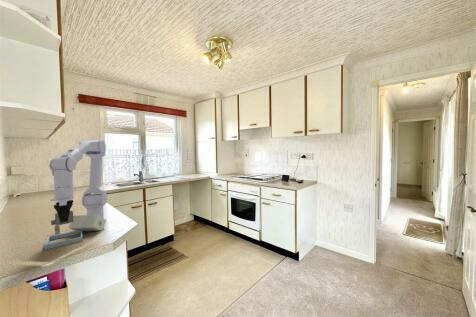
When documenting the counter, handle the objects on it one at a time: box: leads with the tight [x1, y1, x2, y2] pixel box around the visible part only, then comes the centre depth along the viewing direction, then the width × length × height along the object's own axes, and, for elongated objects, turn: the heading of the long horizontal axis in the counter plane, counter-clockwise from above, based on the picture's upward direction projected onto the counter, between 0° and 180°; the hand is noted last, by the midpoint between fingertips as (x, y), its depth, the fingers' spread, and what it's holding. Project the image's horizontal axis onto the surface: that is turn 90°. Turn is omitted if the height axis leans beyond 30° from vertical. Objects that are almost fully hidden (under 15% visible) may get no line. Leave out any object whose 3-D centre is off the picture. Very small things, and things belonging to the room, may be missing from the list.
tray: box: [43, 230, 84, 250], centre depth 79 cm, size 11×11×2 cm
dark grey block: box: [50, 210, 74, 226], centre depth 79 cm, size 5×7×4 cm
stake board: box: [44, 225, 75, 241], centre depth 87 cm, size 9×10×6 cm
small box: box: [68, 214, 107, 232], centre depth 89 cm, size 8×6×10 cm
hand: (64, 220), depth 79 cm, fingers closed on dark grey block, 5 cm apart
